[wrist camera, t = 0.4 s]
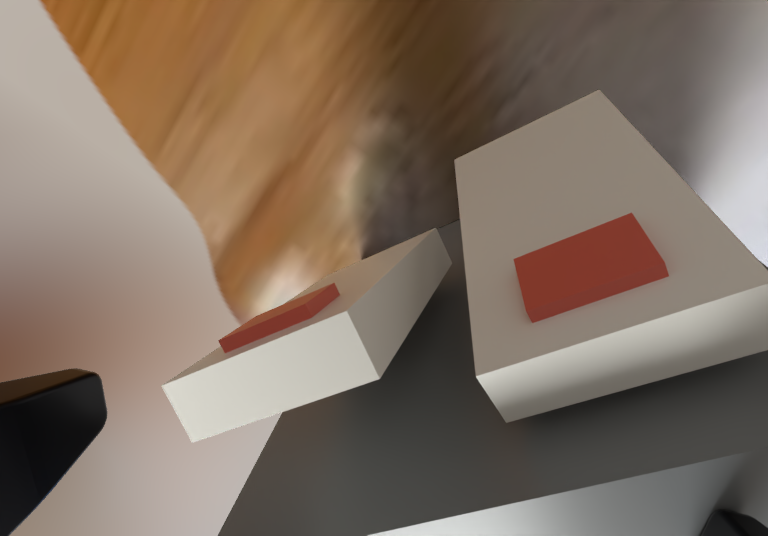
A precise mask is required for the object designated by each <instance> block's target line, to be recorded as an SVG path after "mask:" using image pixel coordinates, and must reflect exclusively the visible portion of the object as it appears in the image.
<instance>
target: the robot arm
mask: <svg viewBox="0 0 768 536" xmlns="http://www.w3.org/2000/svg"><path fill="white" fill-rule="evenodd" d="M106 419H107V407H106V402H105V397H104V391H103V385H102V380H101V378H100V377H99V375H98V374H97V373H95V372H90V371H86V370H82V369H68V370H62V371H57V372H52V373H47V374H42V375H37V376H32V377H27V378H21V379H17V380H11V381H6V382H1V383H0V536H9V535H10V534H11V533H12V532H13V531H14V530H15V529H16V528H17V527H18V526H19V525H20V524H21V523H22V522H23V521H24V520H25V519H26V518H27V517H28V516H29V515H30V514H31V513H32V512H33V511H34V510H35V509H36V507H38V505H39V504H40V503H41V502H42V501H43V500H44V499H45V498H46V496H47V495H48V494H49V493H50V492H51V491H52V489H53V488H54V487H55V486H56V485H57V483H58V482H59V481H60V480H61V479H62V477H63V476H64V475H65V474H66V473H67V471H68V470H69V469H70V468H71V467H72V465H73V464H74V463H75V462H76V460H77V459H78V458H79V457H80V456H81V454H82V453H83V452H84V451H85V450H86V448H87V447H88V446H89V445H90V444H91V442H92V441H93V440H94V439H95V438H96V436H97V435H98V434H99V433H100V431H101V430H102V429H103V427H104V425H105V422H106ZM701 536H768V527H766V526H765V525H763V524H762V523H761V522H759V521H758V520H756V519H755V518H753V517H751V516H749V515H746V514H741V513H737V512H732V511H728V510H722V509H720V510H717V511H715V512H714V513H713V514H712V515H711V517H710V519H709V521H708V523H707V525H706V527H705V529H704V531H703V533H702V535H701Z"/></svg>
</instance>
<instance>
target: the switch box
mask: <svg viewBox="0 0 768 536" xmlns="http://www.w3.org/2000/svg"><path fill="white" fill-rule="evenodd" d="M437 231H438V233H439V235H440V237H441V239H442V242H443V244H444V246H445V248H446V250H447V253H448V255H449V257H450V259H451V261H452V265H451V266H450V268H449V269H448V271H447V273H446V274H445V276H444V277H443V279H442V280H441V282H440V284H439V285H438V287H437V288H436V290H435V292H434V293H433V295H432V296H431V298H430V300H429V301H428V303H427V304H426V306H425V308H424V309H423V311H422V312H421V314H420V316H419V317H418V319H417V320H416V322H415V324H414V325H413V327H412V328H411V330H410V332H409V333H408V335H407V336H406V338H405V340H404V341H403V343H402V344H401V346H400V348H399V349H398V351H397V352H396V354H395V356H394V357H393V359H392V360H391V362H390V364H389V365H388V367H387V368H386V370H385V372H384V373H383V375H382V376H381V378H380V379H378V380H375V381H372V382H370V383H367V384H364V385H361V386H358V387H355V388H352V389H349V390H346V391H343V392H340V393H337V394H334V395H331V396H328V397H325V398H323V399H320V400H317V401H314V402H311V403H308V404H305V405H302V406H299V407H296V408H293V409H290V410H287V411H284V412H282V414H281V416H280V418H279V420H278V422H277V424H276V426H275V428H274V430H273V432H272V433H271V435H270V437H269V439H268V441H267V443H266V445H265V447H264V449H263V451H262V452H261V454H260V456H259V458H258V460H257V462H256V464H255V466H254V468H253V469H252V471H251V474H250V475H249V477H248V479H247V481H246V483H245V485H244V487H243V489H242V491H241V493H240V494H239V496H238V498H237V500H236V502H235V504H234V506H233V508H232V510H231V511H230V513H229V515H228V517H227V519H226V521H225V523H224V525H223V527H222V529H221V531H220V532H219V534H218V536H701V535H702V533H703V531H704V529H705V527H706V525H707V523H708V521H709V519H710V517H711V515H712V514H713V513H714V512H715V511H717V510H720V509H722V510H728V511H732V512H737V513H741V514H746V515H749V516H751V517H753V518H755V519H756V520H758V521H759V522H761V523H762V524H763V525H765V526H766V527H768V350H766V351H763V352H759V353H756V354H752V355H748V356H745V357H741V358H738V359H734V360H730V361H727V362H723V363H720V364H716V365H712V366H709V367H705V368H702V369H698V370H695V371H691V372H687V373H684V374H680V375H677V376H673V377H669V378H666V379H662V380H659V381H655V382H651V383H648V384H644V385H641V386H637V387H633V388H630V389H626V390H623V391H619V392H616V393H612V394H608V395H605V396H601V397H598V398H594V399H590V400H587V401H583V402H580V403H576V404H572V405H569V406H565V407H562V408H558V409H554V410H551V411H547V412H544V413H540V414H537V415H533V416H529V417H526V418H522V419H519V420H515V421H511V422H508V423H506V422H505V420H504V419H503V417H502V416H501V414H500V413H499V411H498V410H497V408H496V407H495V405H494V404H493V402H492V400H491V399H490V397H489V396H488V394H487V393H486V391H485V390H484V388H483V387H482V385H481V384H480V382H479V381H478V379H477V378H476V374H475V364H474V354H473V344H472V334H471V324H470V314H469V304H468V294H467V284H466V274H465V263H464V253H463V243H462V233H461V223H460V219H459V220H457V221H455V222H453V223H450V224H448V225H446V226H444V227H441V228H439V229H437ZM759 262H760V261H759ZM760 263H761V262H760ZM761 264H762V265H763V266H764V267H765V268H766V269H767V270H768V267H766V266H765V265H764V264H763V263H761Z"/></svg>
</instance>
